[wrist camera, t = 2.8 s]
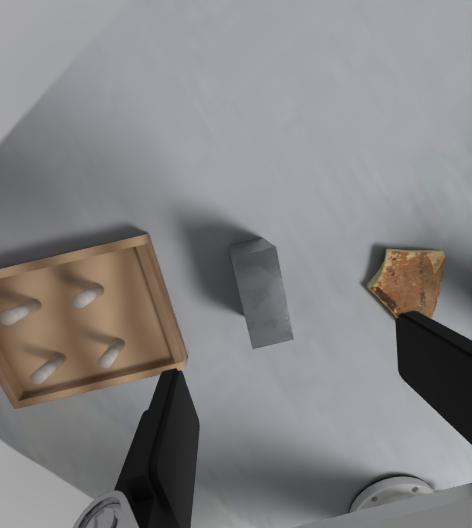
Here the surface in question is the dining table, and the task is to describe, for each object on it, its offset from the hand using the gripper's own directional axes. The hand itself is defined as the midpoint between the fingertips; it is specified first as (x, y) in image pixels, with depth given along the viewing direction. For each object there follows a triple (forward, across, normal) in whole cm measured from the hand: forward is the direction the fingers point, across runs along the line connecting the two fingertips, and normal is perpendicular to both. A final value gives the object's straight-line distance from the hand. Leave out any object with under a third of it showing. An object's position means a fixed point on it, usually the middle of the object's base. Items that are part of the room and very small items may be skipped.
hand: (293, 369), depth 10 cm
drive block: (+15, 0, +1) cm, 15 cm away
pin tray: (+15, +18, +1) cm, 23 cm away
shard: (+15, -17, +6) cm, 24 cm away
